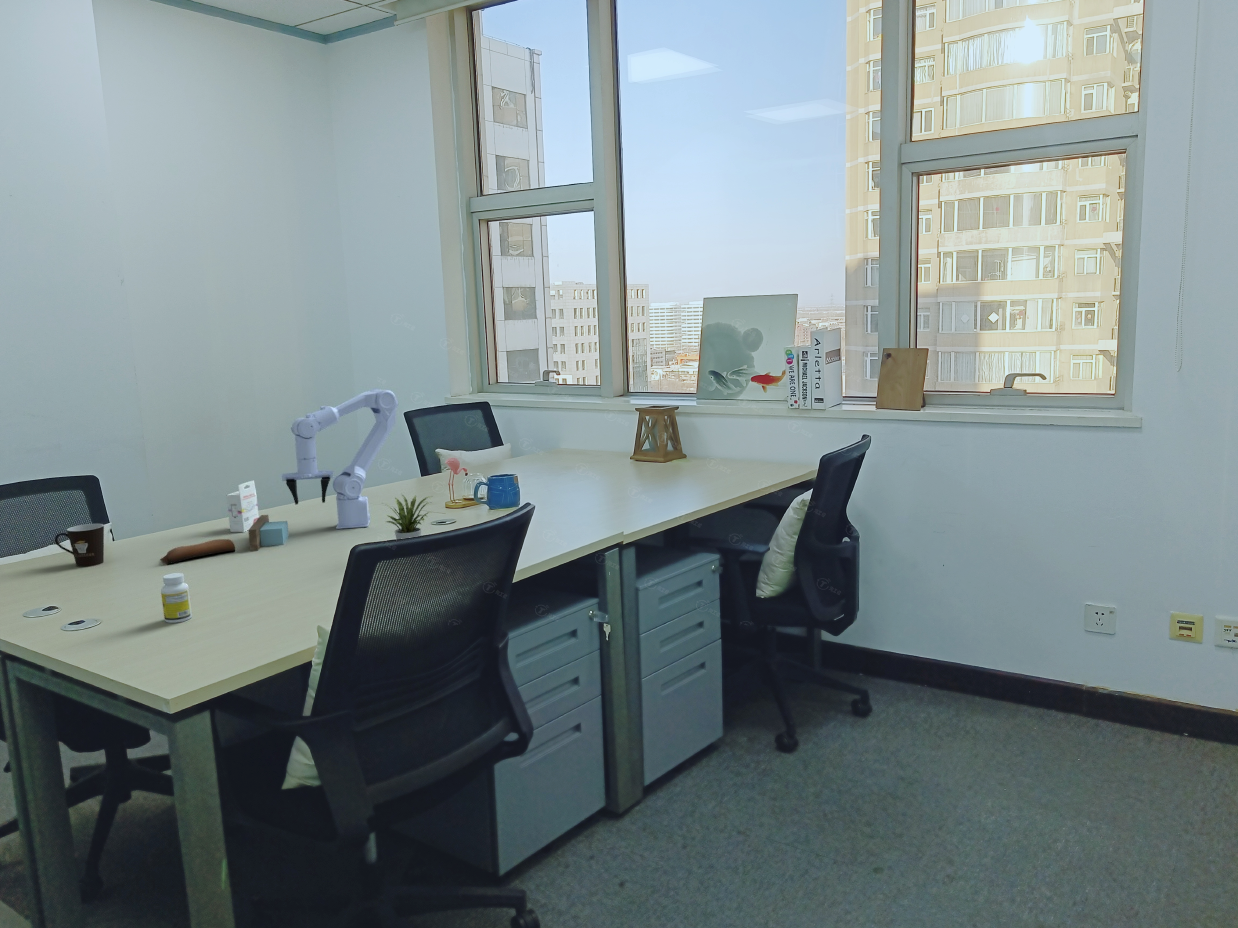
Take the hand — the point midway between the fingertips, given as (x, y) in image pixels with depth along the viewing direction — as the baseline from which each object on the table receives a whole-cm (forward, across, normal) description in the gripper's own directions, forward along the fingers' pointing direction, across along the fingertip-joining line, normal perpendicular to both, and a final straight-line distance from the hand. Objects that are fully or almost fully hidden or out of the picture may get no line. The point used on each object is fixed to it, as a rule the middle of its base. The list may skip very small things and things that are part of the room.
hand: (310, 502), depth 276 cm
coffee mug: (+9, -57, -17) cm, 60 cm away
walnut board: (+9, -14, -8) cm, 18 cm away
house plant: (+9, +30, -36) cm, 47 cm away
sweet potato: (+10, -29, -19) cm, 36 cm away
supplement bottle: (+9, -21, -77) cm, 81 cm away
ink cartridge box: (+9, -21, +12) cm, 26 cm away
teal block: (+9, -10, -9) cm, 16 cm away
